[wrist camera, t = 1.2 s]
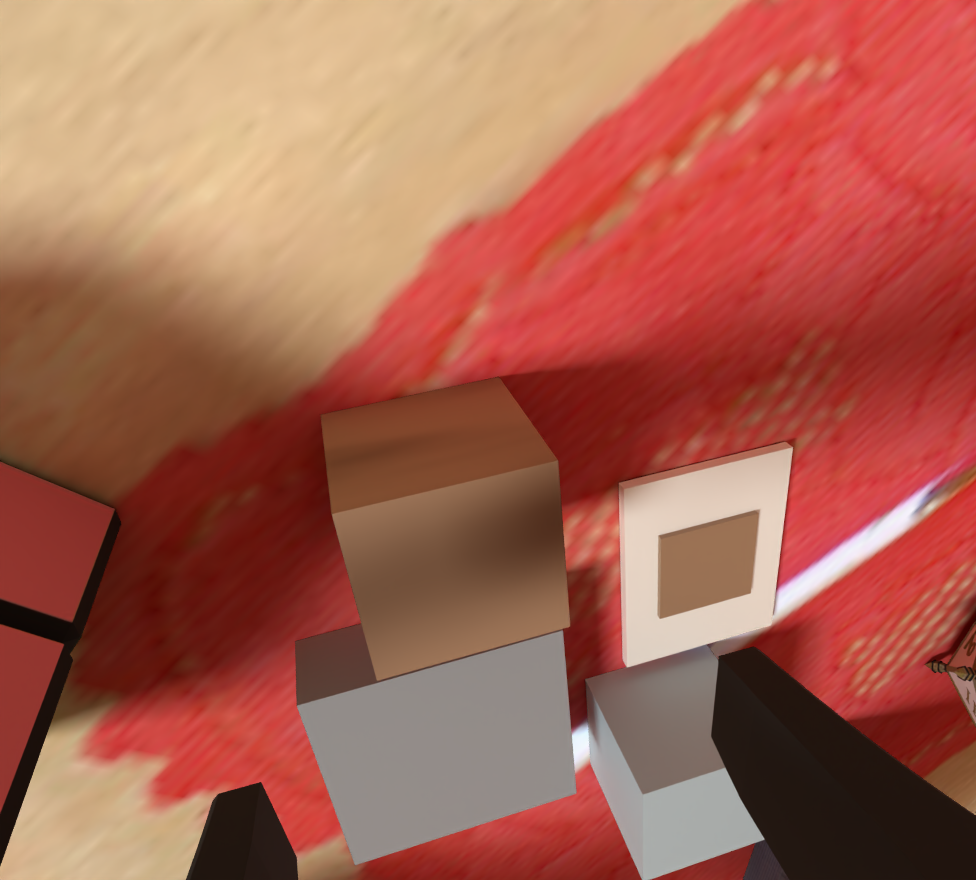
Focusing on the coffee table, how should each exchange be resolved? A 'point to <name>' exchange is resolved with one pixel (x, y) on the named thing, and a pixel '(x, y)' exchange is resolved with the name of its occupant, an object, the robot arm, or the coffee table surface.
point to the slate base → (434, 737)
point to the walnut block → (447, 524)
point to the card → (701, 551)
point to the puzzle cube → (41, 614)
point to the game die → (962, 671)
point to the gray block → (665, 762)
